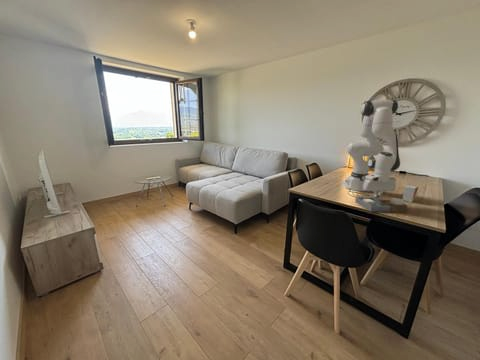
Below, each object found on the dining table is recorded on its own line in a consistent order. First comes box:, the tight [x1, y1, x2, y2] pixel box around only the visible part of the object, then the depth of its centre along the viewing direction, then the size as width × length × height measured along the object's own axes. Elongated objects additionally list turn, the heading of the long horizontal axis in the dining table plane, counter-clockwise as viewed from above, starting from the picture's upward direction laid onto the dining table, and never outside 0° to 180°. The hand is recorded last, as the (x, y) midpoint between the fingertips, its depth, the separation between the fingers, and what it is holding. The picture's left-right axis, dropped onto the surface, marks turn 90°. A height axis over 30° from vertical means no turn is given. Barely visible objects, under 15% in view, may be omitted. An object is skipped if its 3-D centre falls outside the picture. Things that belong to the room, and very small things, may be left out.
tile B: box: [390, 197, 405, 205], centre depth 126 cm, size 5×5×2 cm
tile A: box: [363, 199, 375, 205], centre depth 134 cm, size 5×5×2 cm
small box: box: [401, 184, 419, 203], centre depth 142 cm, size 8×6×10 cm
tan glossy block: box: [373, 196, 409, 213], centre depth 130 cm, size 16×10×4 cm, turn 1°
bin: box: [354, 196, 391, 213], centre depth 130 cm, size 16×12×4 cm
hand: (377, 196), depth 133 cm, fingers closed
